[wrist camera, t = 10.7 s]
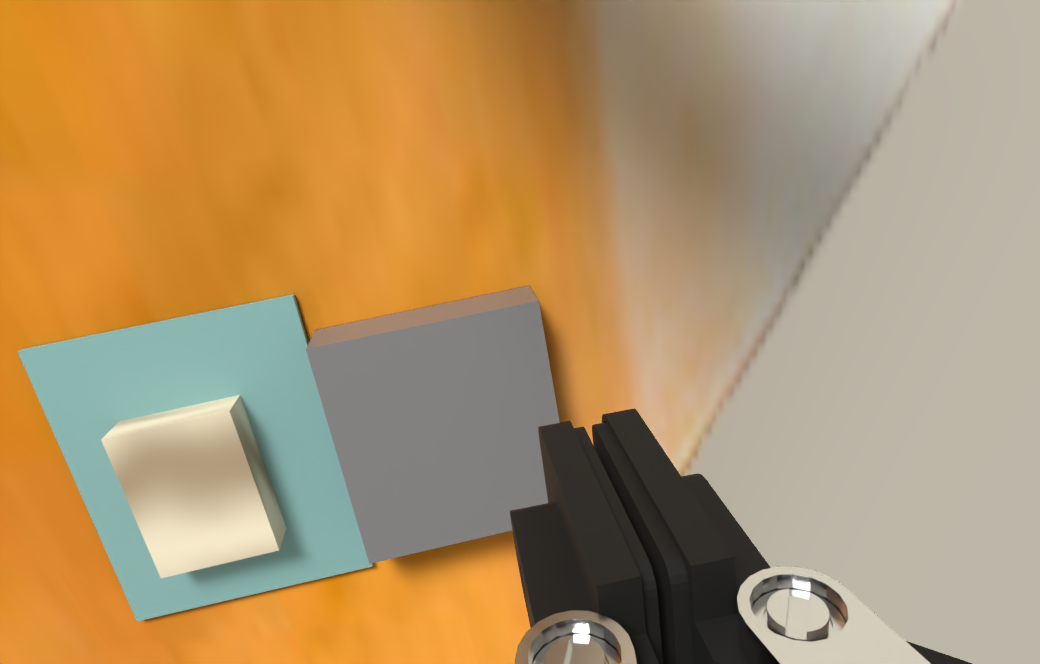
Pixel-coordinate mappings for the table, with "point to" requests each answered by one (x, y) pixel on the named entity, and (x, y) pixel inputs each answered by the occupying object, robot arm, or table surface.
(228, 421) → the birch tile
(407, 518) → the grey flat square block
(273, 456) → the mat
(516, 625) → the table surface
